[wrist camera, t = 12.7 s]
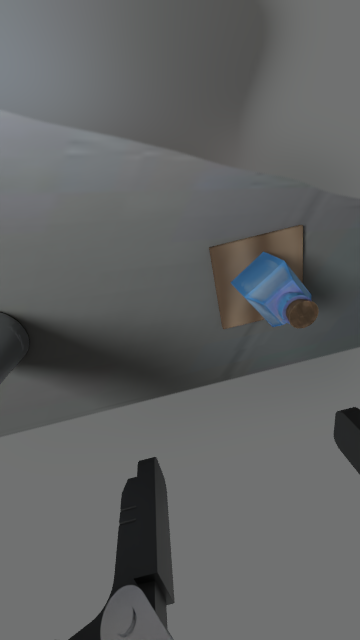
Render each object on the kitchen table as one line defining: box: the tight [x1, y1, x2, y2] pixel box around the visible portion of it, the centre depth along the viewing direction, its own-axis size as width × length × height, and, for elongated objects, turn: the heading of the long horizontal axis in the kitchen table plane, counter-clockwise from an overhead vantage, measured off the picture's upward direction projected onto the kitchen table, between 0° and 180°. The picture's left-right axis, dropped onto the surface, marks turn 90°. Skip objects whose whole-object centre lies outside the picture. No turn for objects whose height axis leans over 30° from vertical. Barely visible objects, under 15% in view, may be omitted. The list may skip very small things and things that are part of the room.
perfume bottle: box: [231, 252, 318, 328], centre depth 31 cm, size 6×6×12 cm
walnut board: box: [209, 225, 303, 329], centre depth 36 cm, size 13×13×1 cm
